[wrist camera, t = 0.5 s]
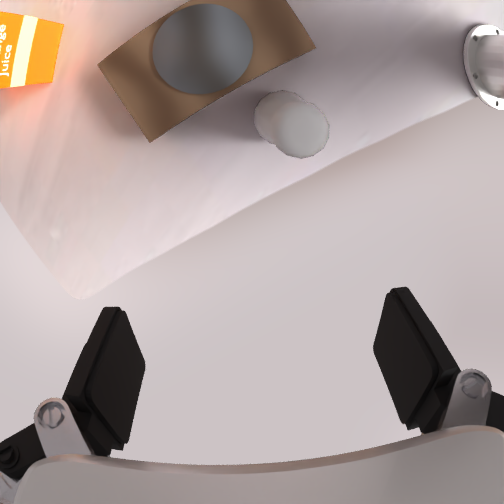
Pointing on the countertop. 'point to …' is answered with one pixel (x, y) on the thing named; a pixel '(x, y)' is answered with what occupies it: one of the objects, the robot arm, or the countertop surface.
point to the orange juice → (27, 49)
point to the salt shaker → (291, 124)
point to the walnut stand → (201, 57)
